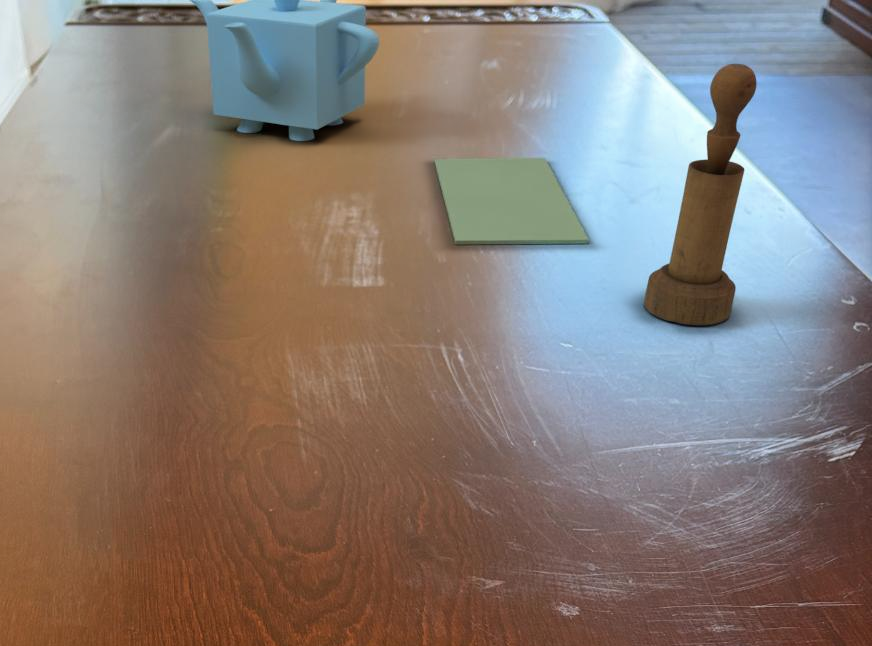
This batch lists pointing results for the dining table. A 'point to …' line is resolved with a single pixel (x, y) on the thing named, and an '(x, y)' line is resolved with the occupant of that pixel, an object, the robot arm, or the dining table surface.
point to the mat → (506, 202)
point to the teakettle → (288, 62)
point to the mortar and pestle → (706, 217)
